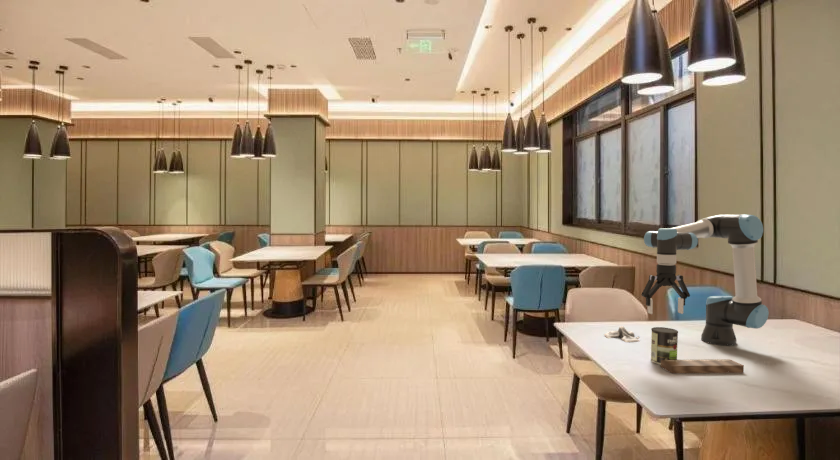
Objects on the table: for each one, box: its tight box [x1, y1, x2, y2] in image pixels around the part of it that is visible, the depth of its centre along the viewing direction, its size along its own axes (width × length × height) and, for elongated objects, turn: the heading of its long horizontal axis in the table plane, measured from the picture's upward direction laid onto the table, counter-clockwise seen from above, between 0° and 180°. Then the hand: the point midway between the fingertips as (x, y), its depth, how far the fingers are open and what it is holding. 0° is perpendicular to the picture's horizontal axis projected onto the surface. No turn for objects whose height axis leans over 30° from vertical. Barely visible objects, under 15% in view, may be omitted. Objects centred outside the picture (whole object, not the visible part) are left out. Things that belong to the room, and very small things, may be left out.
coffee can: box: [650, 326, 679, 366], centre depth 208 cm, size 10×10×14 cm
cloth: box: [603, 325, 641, 343], centre depth 251 cm, size 22×19×6 cm
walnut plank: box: [660, 358, 745, 374], centre depth 198 cm, size 30×8×3 cm, turn 93°
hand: (665, 313), depth 207 cm, fingers open, 13 cm apart
